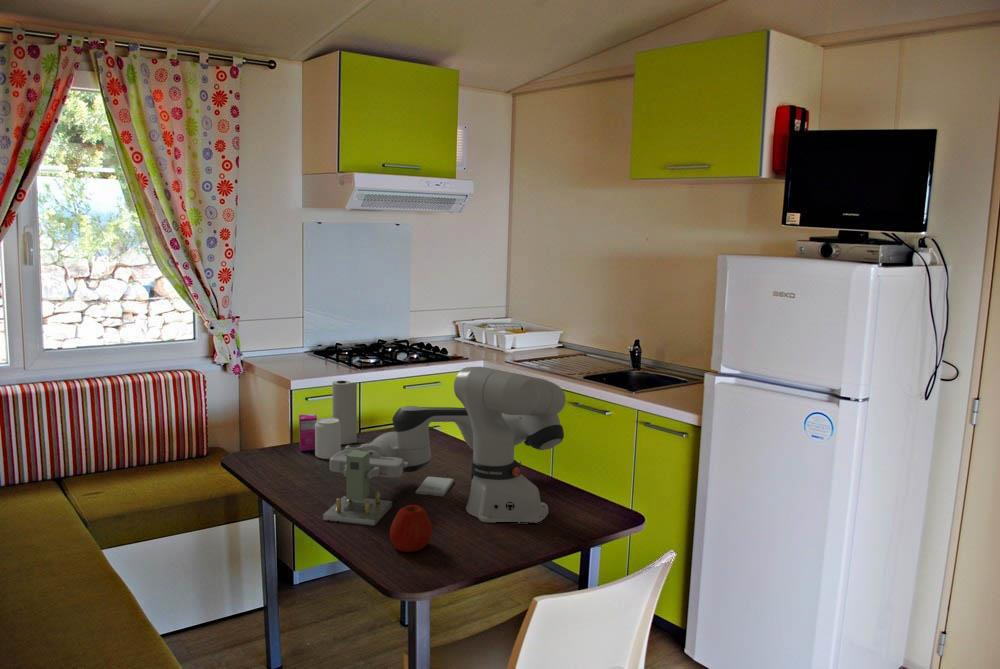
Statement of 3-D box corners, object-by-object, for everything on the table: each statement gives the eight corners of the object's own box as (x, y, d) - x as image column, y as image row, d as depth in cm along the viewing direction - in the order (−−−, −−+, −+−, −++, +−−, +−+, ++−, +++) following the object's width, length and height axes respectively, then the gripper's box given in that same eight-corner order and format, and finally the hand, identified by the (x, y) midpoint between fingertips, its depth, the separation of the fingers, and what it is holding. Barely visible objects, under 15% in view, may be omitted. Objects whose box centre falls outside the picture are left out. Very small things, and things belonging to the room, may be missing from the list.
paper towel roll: (328, 442, 279) (328, 381, 275) (341, 438, 284) (341, 379, 280) (343, 446, 275) (343, 385, 271) (356, 442, 280) (356, 382, 276)
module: (369, 494, 219) (369, 451, 217) (362, 501, 214) (362, 457, 212) (353, 493, 220) (353, 450, 218) (346, 499, 215) (346, 455, 213)
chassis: (391, 506, 223) (392, 488, 222) (374, 525, 210) (374, 507, 209) (343, 501, 226) (343, 483, 225) (323, 520, 212) (323, 501, 211)
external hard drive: (453, 484, 244) (442, 498, 232) (427, 481, 245) (415, 495, 233) (453, 478, 244) (443, 492, 232) (427, 476, 245) (415, 490, 233)
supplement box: (299, 447, 273) (298, 414, 271) (317, 446, 275) (316, 413, 273) (299, 452, 267) (299, 418, 266) (318, 451, 269) (318, 417, 267)
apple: (432, 556, 193) (432, 514, 191) (388, 556, 192) (388, 514, 190) (432, 538, 203) (433, 498, 201) (390, 538, 202) (391, 498, 200)
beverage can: (316, 452, 268) (316, 417, 266) (341, 452, 269) (341, 417, 267) (313, 460, 260) (313, 423, 258) (339, 460, 261) (339, 423, 259)
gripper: (410, 473, 227) (394, 489, 214) (341, 466, 231) (321, 482, 218) (410, 451, 226) (394, 466, 213) (341, 444, 230) (321, 459, 217)
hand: (356, 474), depth 215 cm, fingers closed on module, 4 cm apart
